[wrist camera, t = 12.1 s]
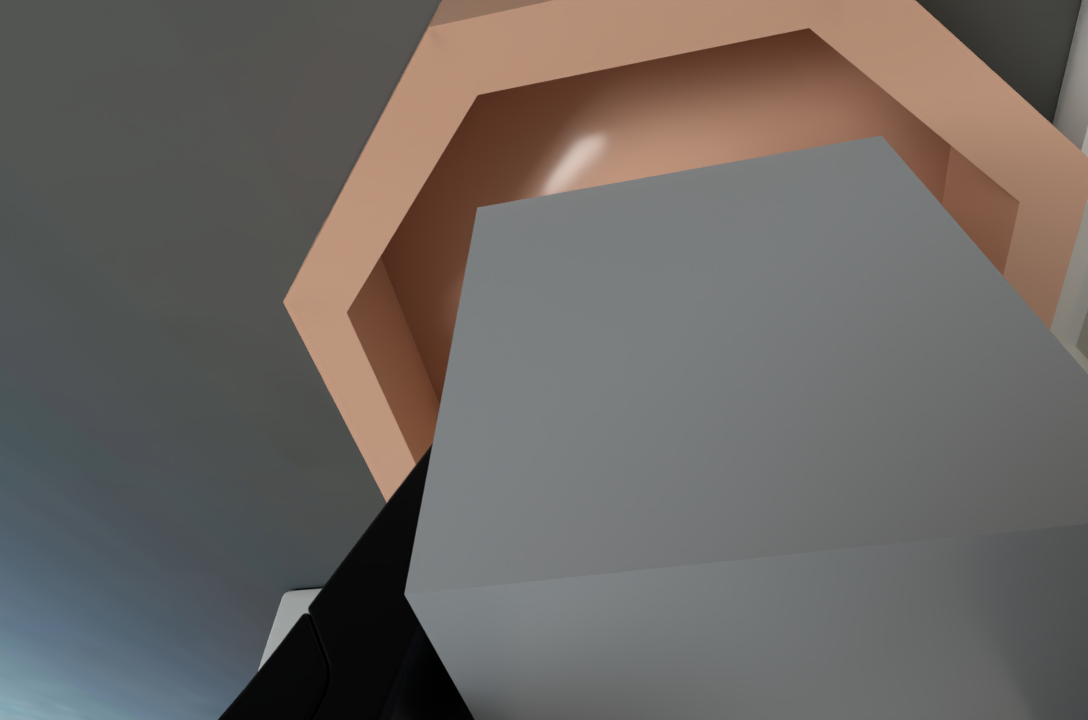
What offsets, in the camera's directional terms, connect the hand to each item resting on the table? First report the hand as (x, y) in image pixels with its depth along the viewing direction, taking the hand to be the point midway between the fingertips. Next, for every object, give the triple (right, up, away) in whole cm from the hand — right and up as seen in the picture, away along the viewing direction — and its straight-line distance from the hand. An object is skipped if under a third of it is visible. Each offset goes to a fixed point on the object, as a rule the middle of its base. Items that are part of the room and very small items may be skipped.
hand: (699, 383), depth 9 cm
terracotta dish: (+1, +2, +7) cm, 8 cm away
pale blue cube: (0, +1, +1) cm, 1 cm away
